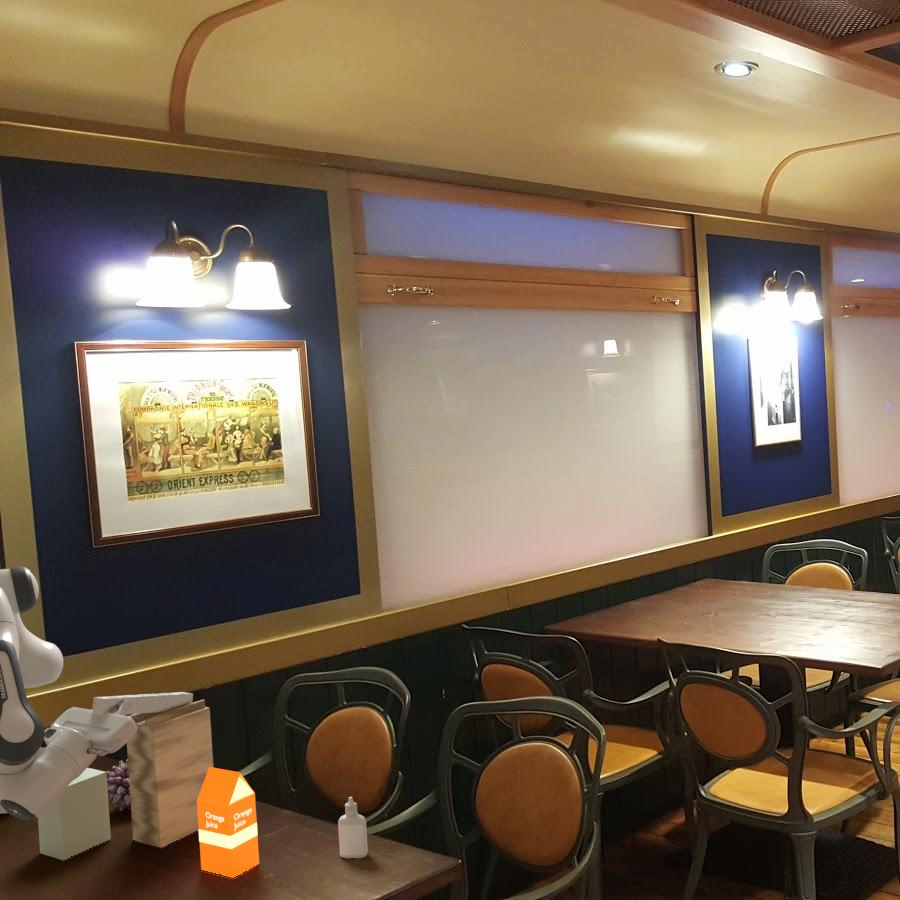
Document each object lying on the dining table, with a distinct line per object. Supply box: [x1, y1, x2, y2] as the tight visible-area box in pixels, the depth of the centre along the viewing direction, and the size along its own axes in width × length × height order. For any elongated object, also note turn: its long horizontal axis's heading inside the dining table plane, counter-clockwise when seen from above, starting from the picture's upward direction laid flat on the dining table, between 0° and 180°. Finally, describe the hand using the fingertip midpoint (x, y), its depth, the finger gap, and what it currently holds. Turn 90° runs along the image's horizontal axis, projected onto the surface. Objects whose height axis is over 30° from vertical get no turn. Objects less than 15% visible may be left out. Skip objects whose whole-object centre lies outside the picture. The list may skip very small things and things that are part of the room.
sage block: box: [37, 767, 112, 861], centre depth 226 cm, size 8×12×15 cm, turn 146°
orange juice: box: [197, 767, 260, 879], centre depth 210 cm, size 8×9×20 cm
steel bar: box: [91, 691, 194, 716], centre depth 225 cm, size 4×24×4 cm, turn 146°
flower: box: [106, 758, 131, 812], centre depth 246 cm, size 12×12×12 cm
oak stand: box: [126, 699, 214, 849], centre depth 231 cm, size 9×16×28 cm, turn 146°
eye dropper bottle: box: [337, 796, 369, 859], centre depth 213 cm, size 4×6×12 cm
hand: (120, 700), depth 220 cm, fingers closed on steel bar, 3 cm apart
